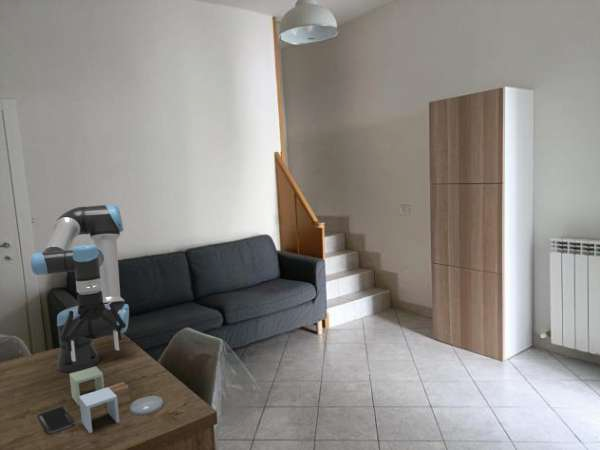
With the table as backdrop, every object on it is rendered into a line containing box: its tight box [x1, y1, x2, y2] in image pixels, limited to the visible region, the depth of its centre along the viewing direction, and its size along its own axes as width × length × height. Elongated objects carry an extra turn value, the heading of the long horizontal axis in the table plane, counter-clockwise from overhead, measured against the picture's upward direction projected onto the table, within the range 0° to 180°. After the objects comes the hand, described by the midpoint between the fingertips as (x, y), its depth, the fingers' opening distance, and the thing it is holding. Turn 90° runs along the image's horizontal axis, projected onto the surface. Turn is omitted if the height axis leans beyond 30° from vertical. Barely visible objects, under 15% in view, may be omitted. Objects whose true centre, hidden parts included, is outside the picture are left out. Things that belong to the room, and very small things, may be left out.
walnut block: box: [108, 381, 131, 406], centre depth 154 cm, size 5×5×5 cm
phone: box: [37, 406, 76, 436], centre depth 143 cm, size 8×1×15 cm
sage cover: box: [69, 365, 105, 407], centre depth 158 cm, size 9×9×8 cm
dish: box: [129, 395, 164, 416], centre depth 149 cm, size 10×10×1 cm
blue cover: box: [79, 386, 121, 434], centre depth 141 cm, size 9×9×8 cm
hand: (95, 354), depth 154 cm, fingers open, 13 cm apart
